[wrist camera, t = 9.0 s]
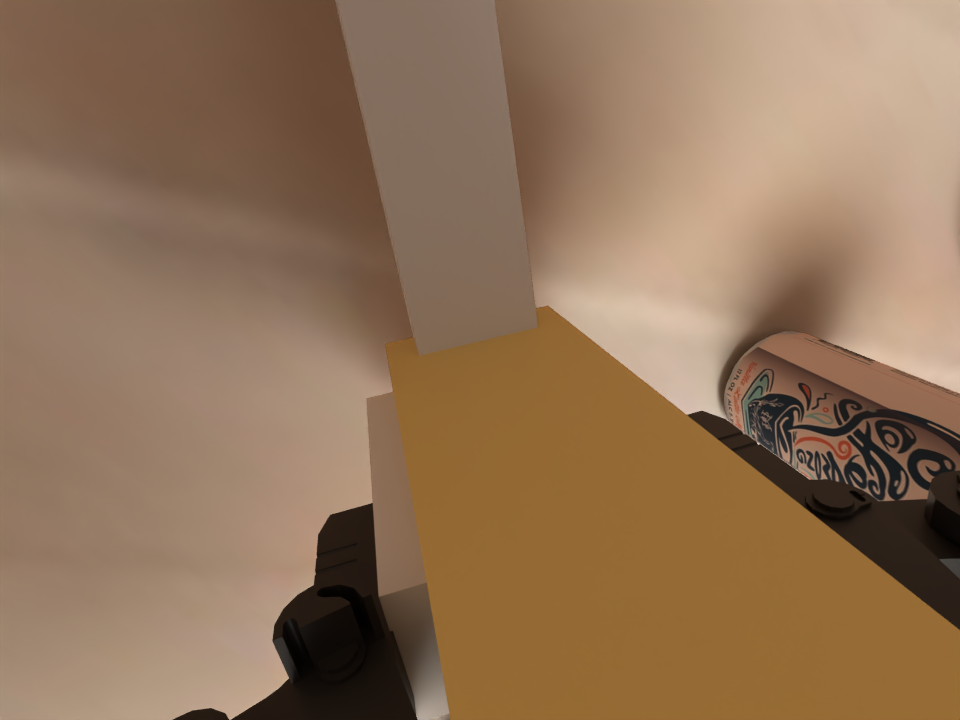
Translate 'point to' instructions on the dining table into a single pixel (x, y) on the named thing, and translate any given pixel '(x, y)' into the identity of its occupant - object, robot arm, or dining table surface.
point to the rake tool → (589, 461)
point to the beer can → (845, 416)
